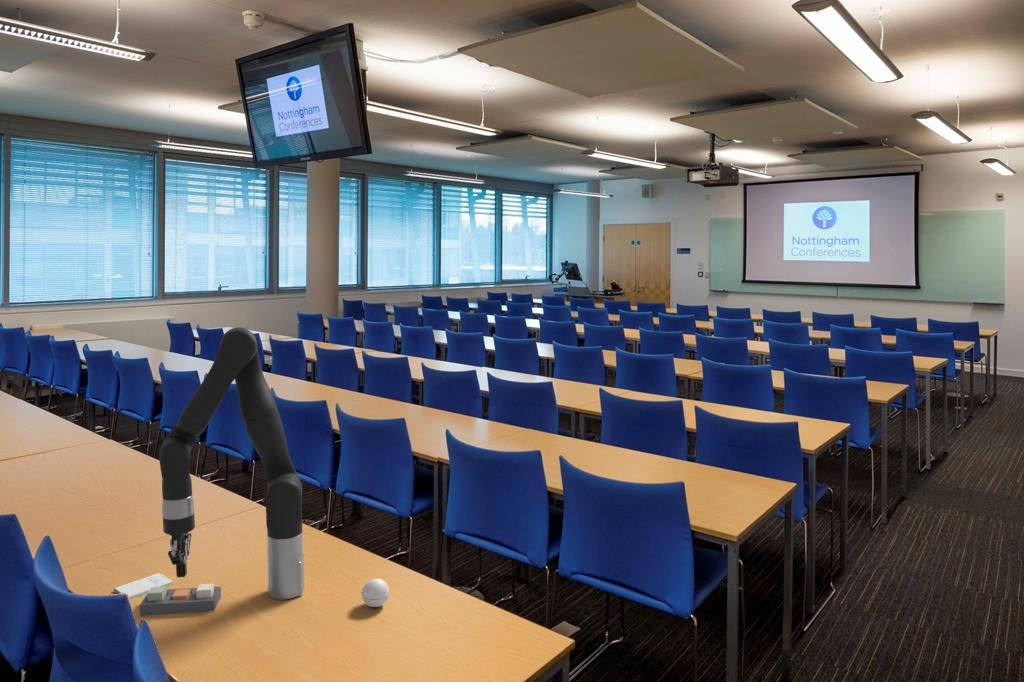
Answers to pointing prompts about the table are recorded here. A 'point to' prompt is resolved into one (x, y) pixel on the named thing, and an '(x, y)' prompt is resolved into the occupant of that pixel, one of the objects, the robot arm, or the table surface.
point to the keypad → (180, 604)
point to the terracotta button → (181, 594)
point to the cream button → (205, 591)
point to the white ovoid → (375, 592)
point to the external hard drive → (143, 585)
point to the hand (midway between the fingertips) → (181, 575)
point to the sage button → (157, 593)
